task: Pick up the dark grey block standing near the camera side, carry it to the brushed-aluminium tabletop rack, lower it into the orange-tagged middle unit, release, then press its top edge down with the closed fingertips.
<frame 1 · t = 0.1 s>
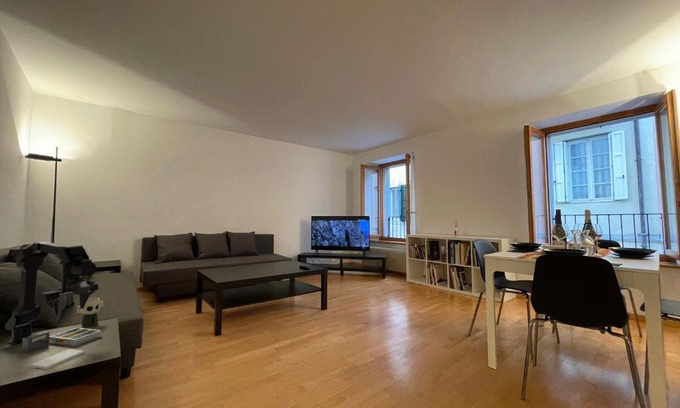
hand: (69, 312, 118), 15 cm above the table, fingers open, 9 cm apart
toy figurine: (89, 326, 141), on the table
rack: (75, 339, 125), on the table
dark grey block: (35, 349, 116), on the table
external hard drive: (57, 361, 107), on the table
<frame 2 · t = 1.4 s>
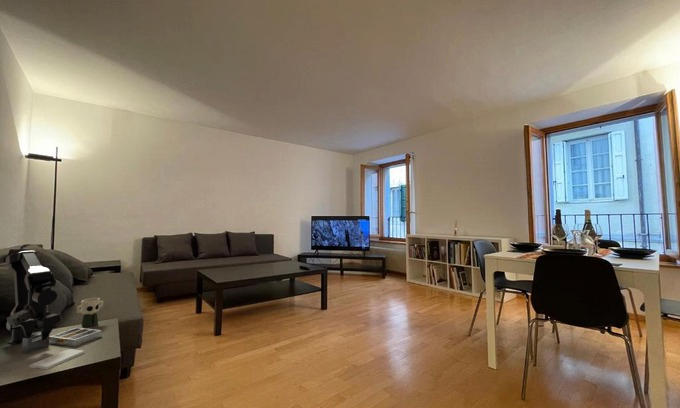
hand: (36, 339, 116), 4 cm above the table, fingers open, 9 cm apart
nothing on the table moved.
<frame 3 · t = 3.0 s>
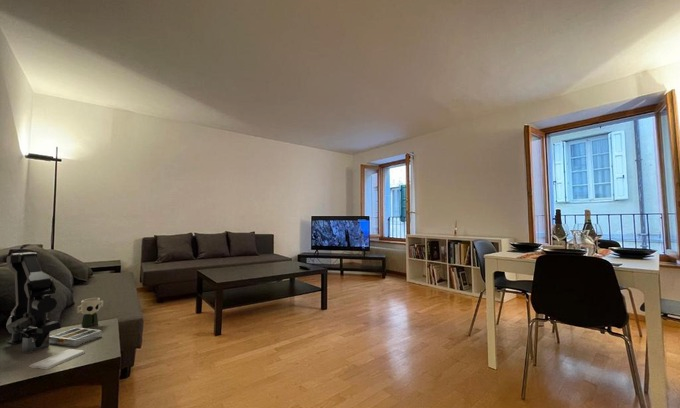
hand: (35, 346, 116), 1 cm above the table, fingers closed on dark grey block, 3 cm apart
dark grey block: (35, 349, 116), on the table, touching gripper
everything else where it was.
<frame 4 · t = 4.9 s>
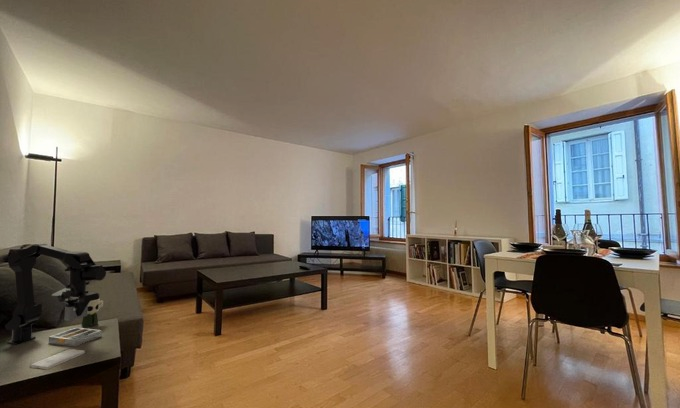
hand: (76, 315, 125), 11 cm above the table, fingers closed on dark grey block, 3 cm apart
dark grey block: (76, 318, 125), point 10 cm above the table, touching gripper
everything else where it was.
when the fingers open (3 cm above the table, at t = 6.8 s): dark grey block drops 1 cm, resting on rack.
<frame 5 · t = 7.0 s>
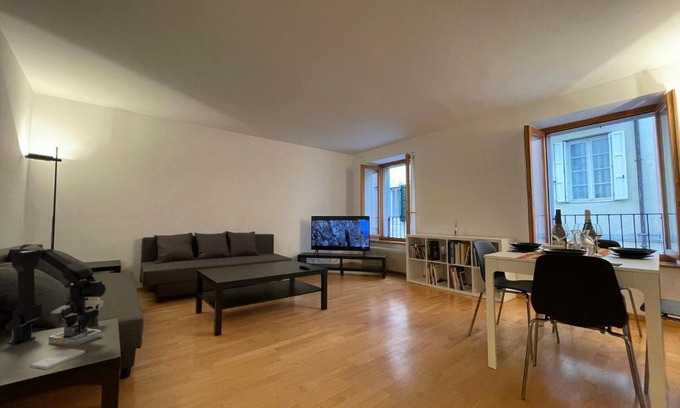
hand: (75, 332, 125), 3 cm above the table, fingers open, 5 cm apart
dark grey block: (75, 337, 124), point 1 cm above the table, touching rack
everything else where it was.
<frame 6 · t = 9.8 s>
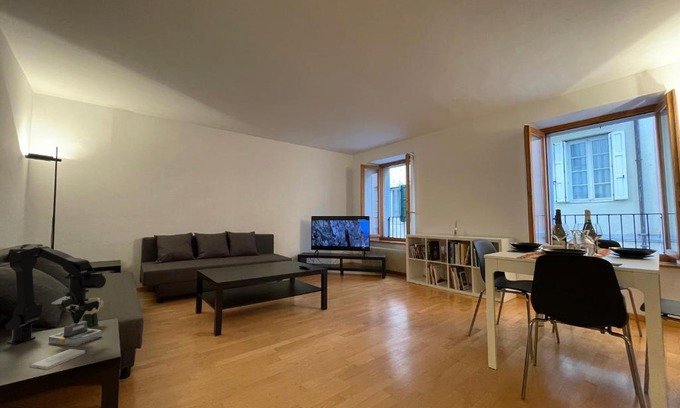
hand: (76, 323, 125), 7 cm above the table, fingers closed
nothing on the table moved.
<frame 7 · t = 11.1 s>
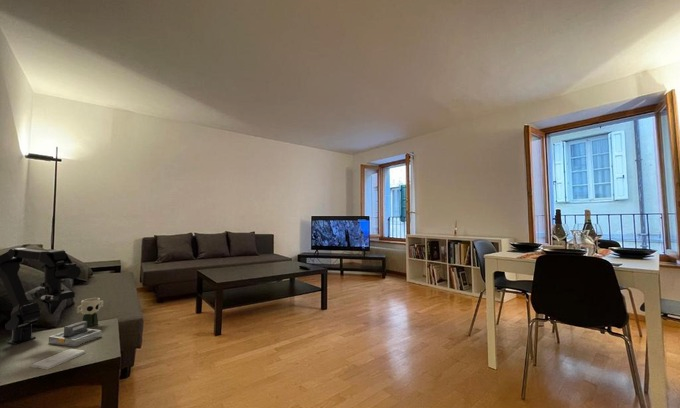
hand: (51, 314, 123), 12 cm above the table, fingers closed
nothing on the table moved.
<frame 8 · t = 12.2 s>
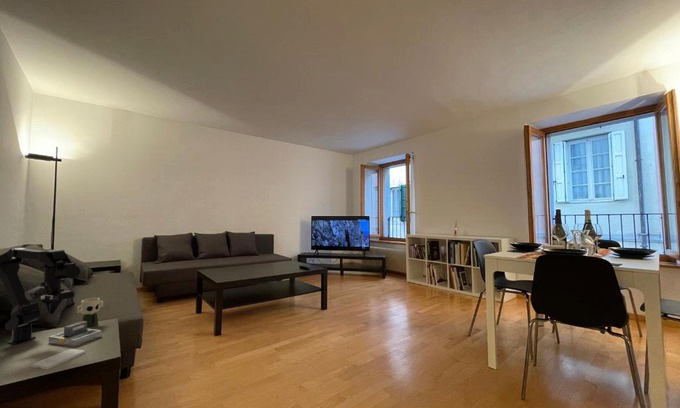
hand: (51, 314, 123), 12 cm above the table, fingers closed
nothing on the table moved.
at the end: dark grey block 0.1 cm off-centre on the rack, point 0.9 cm above the rack's base; dark grey block tilted 0°; the gripper is holding nothing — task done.
